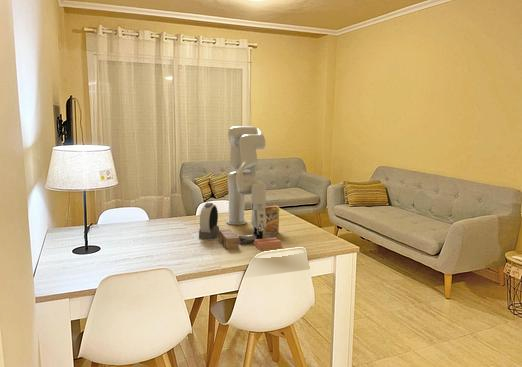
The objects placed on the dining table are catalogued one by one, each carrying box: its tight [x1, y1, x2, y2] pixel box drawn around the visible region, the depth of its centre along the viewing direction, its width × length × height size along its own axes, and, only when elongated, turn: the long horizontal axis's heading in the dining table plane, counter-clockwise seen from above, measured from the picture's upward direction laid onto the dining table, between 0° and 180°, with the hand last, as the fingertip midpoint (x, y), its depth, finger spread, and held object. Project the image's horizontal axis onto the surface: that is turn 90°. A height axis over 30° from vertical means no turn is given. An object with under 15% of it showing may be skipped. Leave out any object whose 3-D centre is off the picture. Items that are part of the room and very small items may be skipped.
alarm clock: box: [198, 202, 220, 241], centre depth 217 cm, size 16×10×18 cm, turn 168°
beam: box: [218, 228, 240, 250], centre depth 205 cm, size 16×6×6 cm, turn 21°
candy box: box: [263, 204, 280, 234], centre depth 225 cm, size 9×4×15 cm, turn 107°
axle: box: [238, 233, 278, 245], centre depth 210 cm, size 20×4×4 cm, turn 110°
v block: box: [252, 237, 282, 251], centre depth 203 cm, size 9×12×3 cm
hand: (258, 240), depth 210 cm, fingers closed on axle, 4 cm apart
